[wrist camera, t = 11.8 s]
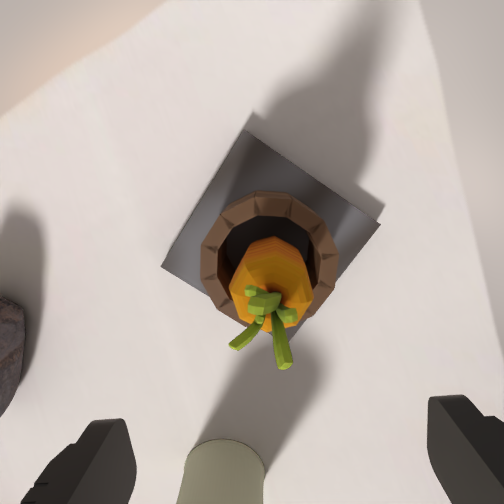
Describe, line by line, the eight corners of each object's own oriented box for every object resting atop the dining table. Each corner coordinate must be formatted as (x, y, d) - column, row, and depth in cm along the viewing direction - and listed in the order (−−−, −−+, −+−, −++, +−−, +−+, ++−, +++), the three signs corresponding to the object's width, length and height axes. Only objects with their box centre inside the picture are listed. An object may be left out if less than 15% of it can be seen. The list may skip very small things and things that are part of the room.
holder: (375, 222, 28) (412, 240, 22) (285, 337, 32) (292, 385, 25) (244, 131, 27) (238, 118, 20) (164, 262, 30) (134, 291, 23)
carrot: (295, 276, 29) (319, 391, 14) (241, 270, 29) (210, 377, 15) (303, 222, 27) (338, 289, 13) (246, 216, 28) (218, 276, 13)
